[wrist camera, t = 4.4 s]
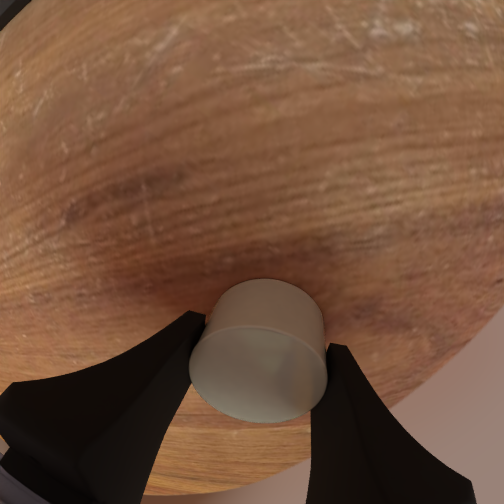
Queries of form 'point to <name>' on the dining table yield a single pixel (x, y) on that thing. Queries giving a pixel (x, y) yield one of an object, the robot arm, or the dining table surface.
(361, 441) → the robot arm
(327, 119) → the dining table surface
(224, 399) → the cylinder
